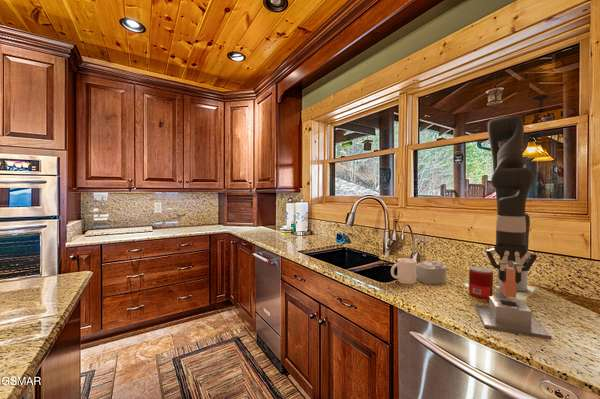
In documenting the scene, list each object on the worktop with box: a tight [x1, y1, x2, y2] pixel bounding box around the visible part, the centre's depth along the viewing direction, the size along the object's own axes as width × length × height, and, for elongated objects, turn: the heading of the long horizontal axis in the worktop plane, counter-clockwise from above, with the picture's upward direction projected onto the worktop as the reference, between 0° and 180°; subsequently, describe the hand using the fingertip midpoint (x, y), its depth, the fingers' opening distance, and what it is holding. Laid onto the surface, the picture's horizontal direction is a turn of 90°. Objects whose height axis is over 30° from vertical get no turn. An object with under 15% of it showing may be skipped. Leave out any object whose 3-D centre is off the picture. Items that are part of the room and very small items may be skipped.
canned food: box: [468, 265, 494, 300], centre depth 108 cm, size 8×8×11 cm
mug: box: [390, 257, 417, 286], centre depth 124 cm, size 12×8×10 cm
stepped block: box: [502, 267, 518, 299], centre depth 86 cm, size 3×3×9 cm
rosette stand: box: [474, 262, 552, 340], centre depth 88 cm, size 18×16×17 cm
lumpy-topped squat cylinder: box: [416, 260, 447, 285], centre depth 127 cm, size 10×13×9 cm
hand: (509, 281), depth 86 cm, fingers closed on stepped block, 3 cm apart
